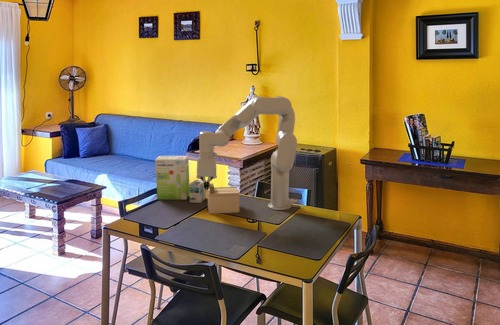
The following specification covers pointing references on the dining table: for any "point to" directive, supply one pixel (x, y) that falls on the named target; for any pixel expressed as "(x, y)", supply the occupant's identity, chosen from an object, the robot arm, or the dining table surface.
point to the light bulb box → (197, 191)
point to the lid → (221, 190)
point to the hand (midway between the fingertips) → (206, 188)
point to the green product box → (172, 177)
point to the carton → (223, 202)
